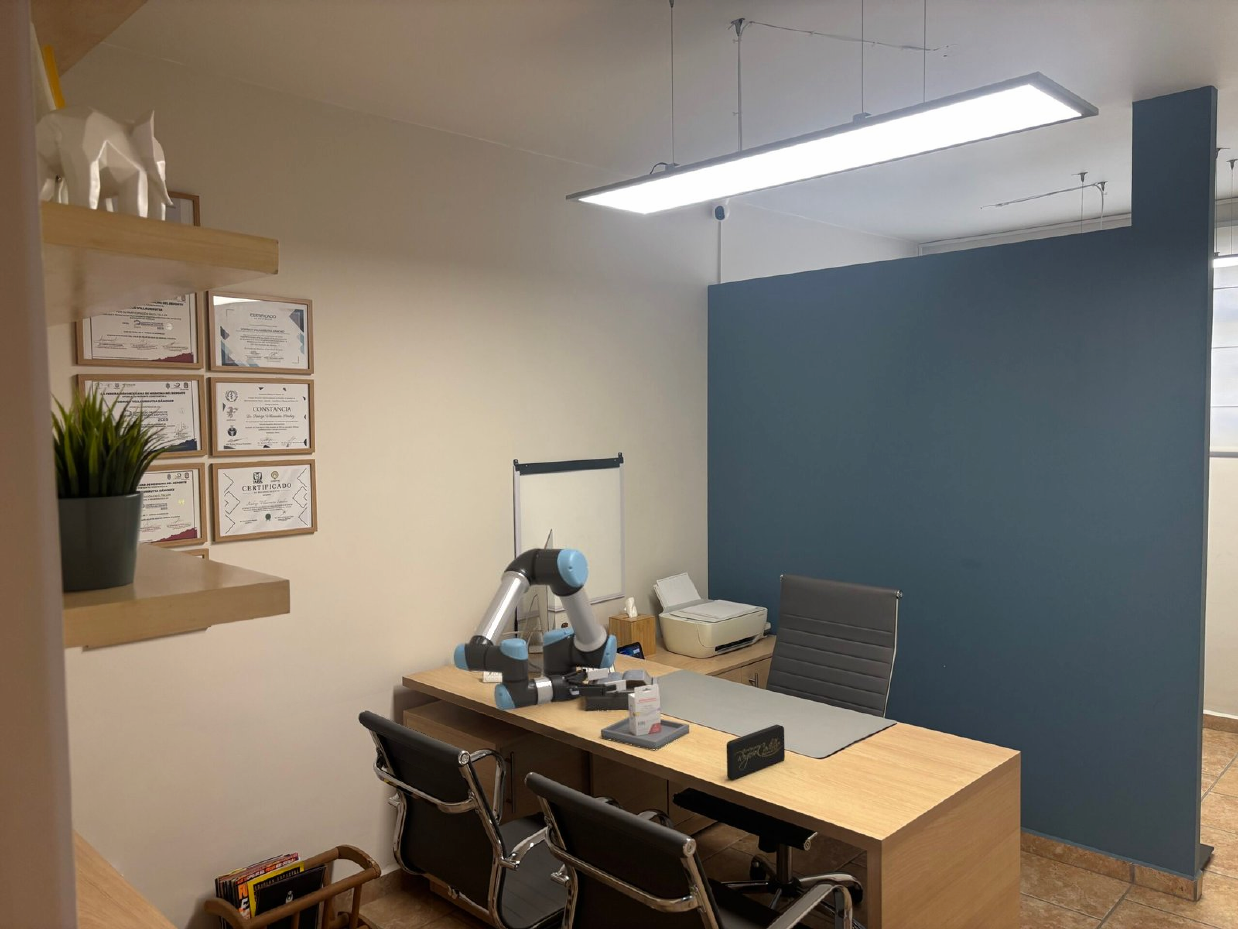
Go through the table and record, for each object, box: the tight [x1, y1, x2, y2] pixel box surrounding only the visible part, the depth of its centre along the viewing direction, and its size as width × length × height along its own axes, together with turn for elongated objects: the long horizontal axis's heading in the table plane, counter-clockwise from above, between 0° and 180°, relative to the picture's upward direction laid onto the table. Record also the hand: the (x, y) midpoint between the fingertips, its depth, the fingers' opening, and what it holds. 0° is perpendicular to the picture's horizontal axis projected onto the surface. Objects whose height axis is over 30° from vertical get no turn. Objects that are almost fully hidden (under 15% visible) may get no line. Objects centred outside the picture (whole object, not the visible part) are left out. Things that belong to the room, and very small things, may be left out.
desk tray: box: [600, 716, 690, 751], centre depth 269 cm, size 18×20×2 cm
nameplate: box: [726, 724, 786, 781], centre depth 240 cm, size 21×2×10 cm, turn 129°
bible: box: [584, 668, 659, 712], centre depth 303 cm, size 23×27×10 cm
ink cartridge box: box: [628, 683, 661, 736], centre depth 269 cm, size 9×5×15 cm, turn 114°
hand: (616, 678), depth 265 cm, fingers open, 13 cm apart
